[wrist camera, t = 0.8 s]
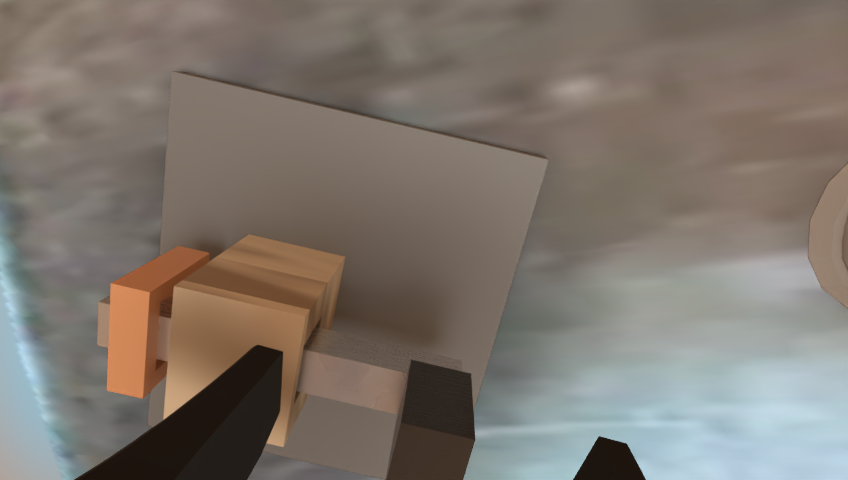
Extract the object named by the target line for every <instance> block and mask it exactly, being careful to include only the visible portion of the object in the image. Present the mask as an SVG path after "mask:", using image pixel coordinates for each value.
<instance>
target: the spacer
mask: <svg viewBox="0 0 848 480" xmlns="http://www.w3.org/2000/svg"><path fill="white" fill-rule="evenodd" d="M209 257H210V253H208V252H204V251H199V250H195V249H191V248H186V247H182V246H177V247H176V248H174V249H172V250H170V251H168V252H167V253H165V254H163V255H161V256H159V257H158V258H156V259H154V260H152V261H150V262H149V263H147V264H145V265H143V266H141V267H140V268H138V269H136V270H134V271H132V272H131V273H129V274H127V275H125V276H123V277H122V278H120V279H118V280H116V281H114V282H113V283H111V294H110V320H109V346H108V372H107V391H111V392H116V393H120V394H124V395H129V396H133V397H137V398H142V399H143V398H144V397H145V396H146V395H147V394H148V393H149V392H150V391H151V390H152V389H153V388H154V387H155V386H156V385H157V384H158V383H159V382H161V381H162V380H163V379H164V378H165V377H166V376H167V366H168V362H167V361H163V360H159V359H156V358H157V344H158V330H159V316H160V303H161V302H162V301H164V300H165V299H166V298H168V297H169V296H171V295H172V294H173V290H174V286H175V285H176V284H178V283H179V282H180V281H182V280H183V279H185V278H186V277H188V276H189V275H191V274H192V273H193V272H195V271H196V270H198V269H199V268H201V267H202V266H204V265H205V264H207V263H208V262H209Z"/></svg>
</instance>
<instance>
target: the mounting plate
mask: <svg viewBox="0 0 848 480" xmlns="http://www.w3.org/2000/svg"><path fill="white" fill-rule="evenodd" d="M548 161H549V160H548V159H547V158H546V157H542V156H538V155H534V154H530V153H525V152H521V151H517V150H512V149H508V148H504V147H500V146H495V145H491V144H487V143H483V142H478V141H474V140H470V139H466V138H461V137H457V136H453V135H449V134H444V133H440V132H436V131H432V130H427V129H423V128H419V127H415V126H410V125H406V124H402V123H398V122H393V121H389V120H385V119H381V118H376V117H372V116H368V115H363V114H359V113H355V112H351V111H346V110H342V109H338V108H334V107H329V106H325V105H321V104H317V103H312V102H308V101H304V100H300V99H295V98H291V97H287V96H283V95H278V94H274V93H270V92H266V91H261V90H257V89H253V88H249V87H244V86H240V85H236V84H231V83H227V82H223V81H219V80H214V79H210V78H206V77H202V76H197V75H193V74H189V73H185V72H174V71H172V77H171V92H170V106H169V121H168V135H167V150H166V165H165V179H164V194H163V208H162V223H161V238H160V252H159V256H161V255H163V254H165V253H167V252H168V251H170V250H172V249H174V248H176V247H177V246H182V247H186V248H191V249H195V250H199V251H204V252H208V253H210V257H209V261H211V260H212V259H214V258H215V257H217V256H218V255H220V254H221V253H223V252H224V251H225V250H227V249H228V248H230V247H231V246H233V245H234V244H236V243H237V242H238V241H240V240H241V239H243V238H244V237H246V236H247V235H249V234H250V235H254V236H259V237H263V238H267V239H272V240H276V241H280V242H285V243H289V244H293V245H297V246H302V247H306V248H310V249H315V250H319V251H323V252H327V253H332V254H336V255H340V256H345V261H344V266H343V272H342V277H341V282H340V288H339V293H338V298H337V304H336V309H335V314H334V320H333V325H332V330H333V331H337V332H341V333H345V334H350V335H354V336H358V337H363V338H367V339H371V340H376V341H380V342H384V343H389V344H393V345H397V346H402V347H406V348H410V349H415V350H419V351H423V352H428V353H432V354H436V355H440V356H445V357H449V358H453V359H458V360H462V372H467V373H471V378H472V396H473V411H474V408H475V405H476V401H477V398H478V395H479V391H480V388H481V385H482V381H483V378H484V375H485V371H486V368H487V365H488V361H489V358H490V354H491V351H492V348H493V344H494V341H495V338H496V334H497V331H498V328H499V324H500V321H501V318H502V314H503V311H504V308H505V304H506V301H507V298H508V294H509V291H510V288H511V284H512V281H513V278H514V274H515V271H516V268H517V264H518V261H519V258H520V254H521V251H522V248H523V244H524V241H525V238H526V234H527V231H528V228H529V224H530V221H531V218H532V214H533V211H534V208H535V204H536V201H537V197H538V194H539V191H540V187H541V184H542V181H543V177H544V174H545V171H546V167H547V164H548ZM166 378H167V376H166V377H165V378H164V379H163V380H162V381H161V382H159V383H158V384H157V385H156V386H155V387H154V388H153V389H152V390H151V391H150V398H149V413H148V426H153V427H154V426H155V425H157V424H158V423H160V422H161V421H162V420H163V416H164V404H165V391H166ZM396 419H397V414H393V413H389V412H384V411H380V410H376V409H371V408H367V407H363V406H358V405H354V404H350V403H345V402H341V401H337V400H332V399H328V398H324V397H319V396H315V395H311V394H309V395H308V397H307V399H306V401H305V404H304V406H303V408H302V410H301V412H300V414H299V416H298V418H297V420H296V422H295V424H294V426H293V428H292V430H291V432H290V435H289V437H288V439H287V441H286V443H285V445H284V447H280V446H276V445H272V444H267V443H266V445H265V447H264V449H263V452H266V453H270V454H275V455H279V456H283V457H288V458H292V459H296V460H301V461H305V462H310V463H314V464H318V465H323V466H327V467H331V468H336V469H340V470H344V471H349V472H353V473H357V474H362V475H366V476H371V477H375V478H379V479H384V480H386V475H387V469H388V463H389V458H390V452H391V447H392V441H393V435H394V430H395V424H396Z"/></svg>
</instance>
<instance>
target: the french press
mask: <svg viewBox="0 0 848 480" xmlns="http://www.w3.org/2000/svg"><path fill="white" fill-rule="evenodd" d="M808 258H809V260H810V262H811V265H812V267H813V269H814V271H815V274H816V276H817V278H818V281H819V283H820V285H821V287H822V288H823V289H824V290H825V291H826V292H828V293H829V294H830V295H831V296H833V297H834V298H835V299H837V300H838V301H839V302H840V303H842V304H843V305H844V306H845V307H847V308H848V163H847V164H846V165H845V166H844V167H843V168H842V169H841V170H840V171H839V172H838V173H837V174H836V175H835V176H834V177H833V178H832V179H831V180H830V181H829V182H828V184H827V187H826V189H825V191H824V193H823V195H822V197H821V199H820V201H819V203H818V205H817V207H816V209H815V211H814V213H813V215H812V217H811V220H810V232H809V251H808Z"/></svg>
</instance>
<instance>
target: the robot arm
mask: <svg viewBox="0 0 848 480" xmlns="http://www.w3.org/2000/svg"><path fill="white" fill-rule="evenodd" d="M282 367H283V351H280V350H276V349H272V348H269V347H265V346H261V345H256V346H254V347H252V348H251V349H250V350H249V351H248V352H247V353H245V354H244V355H243V356H242V357H241V358H240V359H239V360H237V361H236V362H235V363H234V364H233V365H232V366H230V367H229V368H228V369H227V370H226V371H225V372H223V373H222V374H221V375H220V376H219V377H217V378H216V379H215V380H214V381H213V382H211V383H210V384H209V385H208V386H206V387H205V388H204V389H203V390H201V391H200V392H199V393H198V394H196V395H195V396H194V397H193V398H191V399H190V400H189V401H187V402H186V403H185V404H184V405H182V406H181V407H180V408H178V409H177V410H176V411H175V412H173V413H172V414H171V415H169V416H168V417H167V418H165V419H164V420H162V421H161V422H160V423H158V424H157V425H155V426H154V427H153V428H151V429H150V430H148V431H147V432H146V433H144V434H143V435H142V436H140V437H139V438H137V439H136V440H135V441H133V442H132V443H130V444H129V445H127V446H126V447H124V448H123V449H121V450H120V451H118V452H117V453H115V454H114V455H112V456H111V457H109V458H108V459H106V460H105V461H103V462H102V463H100V464H99V465H97V466H95V467H94V468H92V469H91V470H89V471H87V472H86V473H84V474H83V475H81V476H80V477H78V478H76V479H75V480H247V479H248V477H249V475H250V473H251V472H252V470H253V468H254V466H255V465H256V463H257V461H258V459H259V457H260V456H261V454H262V452H263V449H264V447H265V445H266V443H267V441H268V438H269V436H270V434H271V431H272V429H273V427H274V424H275V422H276V420H277V417H278V415H279V413H280V406H281V387H282ZM573 480H646V479H645V477H644V475H643V473H642V471H641V470H640V468H639V466H638V464H637V462H636V460H635V458H634V456H633V454H632V452H631V451H630V449H629V447H628V445H627V444H626V443H622V442H618V441H615V440H611V439H607V438H604V437H600V436H599V437H598V439H597V440H596V442H595V444H594V446H593V447H592V449H591V451H590V452H589V454H588V456H587V457H586V459H585V461H584V462H583V464H582V466H581V467H580V469H579V471H578V472H577V474H576V476H575V478H574V479H573Z"/></svg>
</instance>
